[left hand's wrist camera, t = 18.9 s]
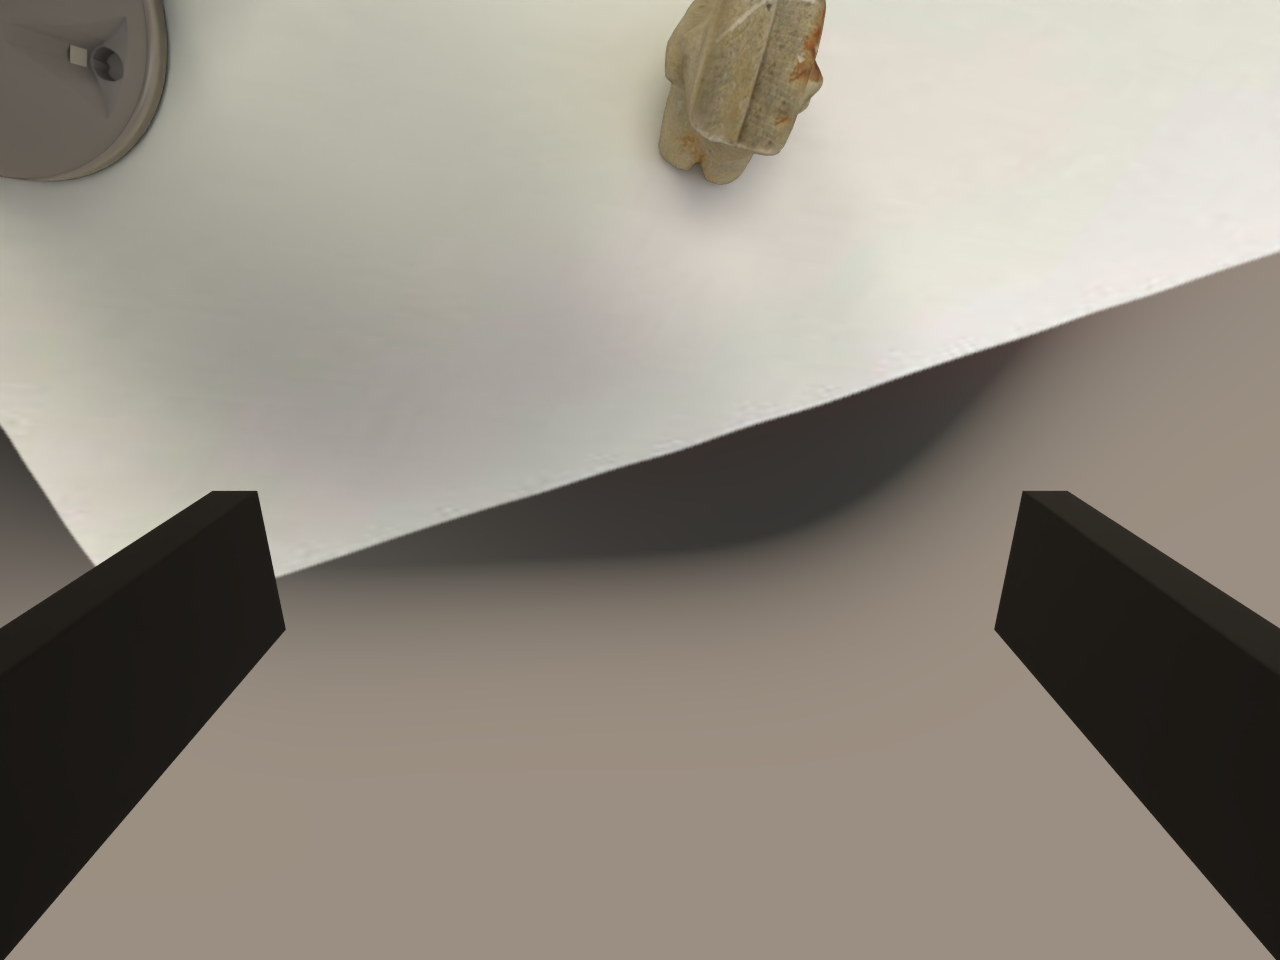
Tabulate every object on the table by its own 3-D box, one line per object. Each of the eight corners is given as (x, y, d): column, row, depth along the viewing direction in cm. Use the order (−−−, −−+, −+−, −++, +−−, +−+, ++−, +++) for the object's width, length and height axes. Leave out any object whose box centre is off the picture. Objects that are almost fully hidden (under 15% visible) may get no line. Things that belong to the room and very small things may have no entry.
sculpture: (637, 154, 36) (635, 117, 22) (689, -1, 34) (724, -152, 20) (741, 197, 37) (803, 187, 23) (799, 48, 35) (909, -65, 21)
